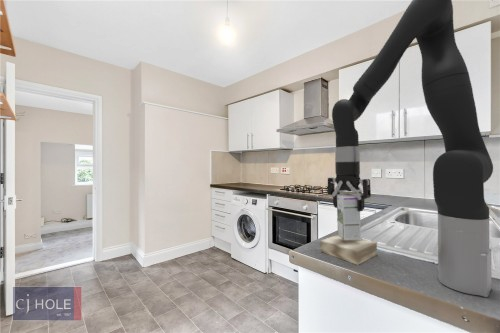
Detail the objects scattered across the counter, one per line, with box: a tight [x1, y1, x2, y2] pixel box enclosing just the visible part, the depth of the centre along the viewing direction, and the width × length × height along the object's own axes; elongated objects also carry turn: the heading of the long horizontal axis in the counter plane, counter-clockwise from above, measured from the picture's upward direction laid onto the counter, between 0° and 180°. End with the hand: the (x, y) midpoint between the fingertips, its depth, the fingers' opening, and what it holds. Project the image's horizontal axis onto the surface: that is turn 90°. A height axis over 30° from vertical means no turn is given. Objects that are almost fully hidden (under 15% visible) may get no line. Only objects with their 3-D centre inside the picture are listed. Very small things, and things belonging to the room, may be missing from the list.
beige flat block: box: [320, 233, 378, 266], centre depth 76 cm, size 13×12×4 cm
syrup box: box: [336, 193, 362, 240], centre depth 76 cm, size 6×6×14 cm
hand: (348, 209), depth 76 cm, fingers closed on syrup box, 8 cm apart
